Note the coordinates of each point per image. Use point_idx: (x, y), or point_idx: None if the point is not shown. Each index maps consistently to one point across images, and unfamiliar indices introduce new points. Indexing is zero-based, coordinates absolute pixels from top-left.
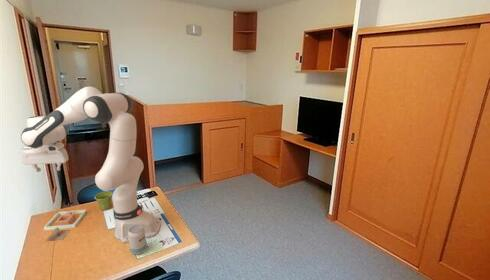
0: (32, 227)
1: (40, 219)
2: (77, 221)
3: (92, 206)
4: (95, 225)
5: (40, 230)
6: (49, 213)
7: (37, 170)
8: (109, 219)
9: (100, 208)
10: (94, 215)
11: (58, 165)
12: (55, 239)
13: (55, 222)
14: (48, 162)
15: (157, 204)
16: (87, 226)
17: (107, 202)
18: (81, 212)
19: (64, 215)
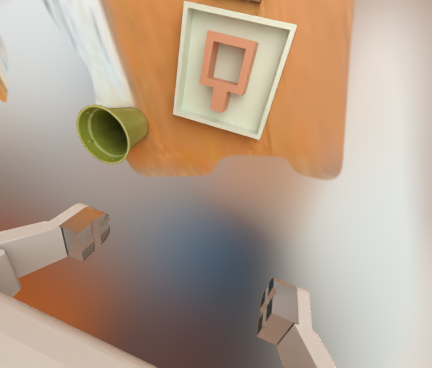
0: (343, 87)
1: (319, 138)
2: (181, 31)
3: (174, 151)
4: (132, 5)
5: (312, 47)
6: (294, 167)
7: (287, 297)
8: (101, 34)
9: (140, 114)
10: (154, 86)
11: (2, 238)
12: None
13: (253, 41)
14: (18, 341)
15: (3, 77)
16: (156, 8)
17: (103, 111)
18: (190, 112)
19: (229, 88)
